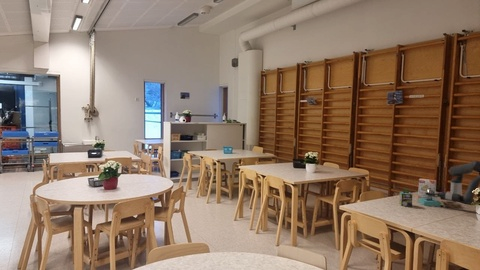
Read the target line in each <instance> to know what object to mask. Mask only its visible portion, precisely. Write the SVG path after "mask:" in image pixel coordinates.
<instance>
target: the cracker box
mask: <svg viewBox="0 0 480 270" xmlns="http://www.w3.org/2000/svg"><path fill="white" fill-rule="evenodd" d="M427 189H432V190H433V192H437V180H436V179H428V178H419V179H418V190H417V192H418V193H417V199H418V200H419V198H427V195H426V192H427ZM432 199H436V197H432Z"/></svg>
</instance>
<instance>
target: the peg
mask: <svg viewBox="0 0 480 270" xmlns="http://www.w3.org/2000/svg"><path fill="white" fill-rule="evenodd" d="M427 193H433V190H432V189H427ZM432 195H433V194H432ZM427 201H432V196H430V195H427Z"/></svg>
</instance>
